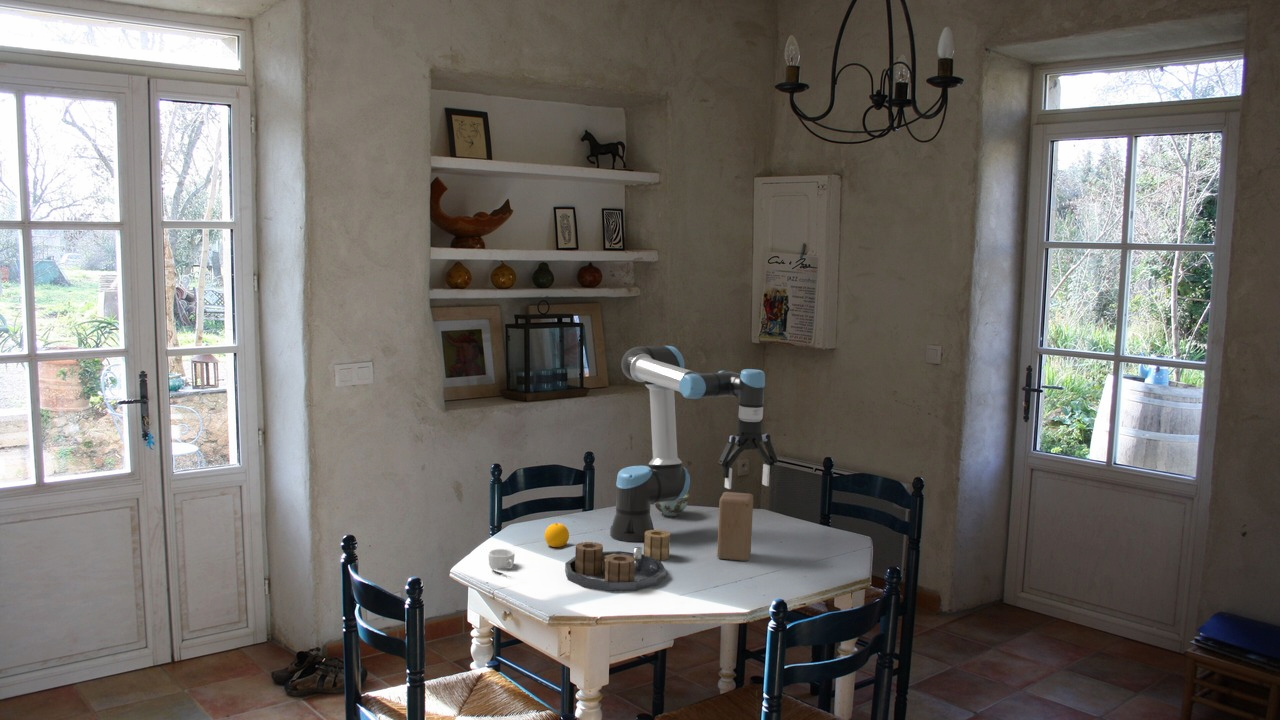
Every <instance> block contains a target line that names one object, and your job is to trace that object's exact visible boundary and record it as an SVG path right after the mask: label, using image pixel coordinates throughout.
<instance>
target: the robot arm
mask: <svg viewBox="0 0 1280 720" xmlns="http://www.w3.org/2000/svg"><path fill="white" fill-rule="evenodd" d="M620 364H621V365H620V366H621V371H622V372H623V374H624V375H625V377H627V378H628V379H629V380H632V381H635V382H638V383H644V386H645V387H646V388H647V389H648V390H649V405H650V424H651V425H650V426H651V428H650V430H651V447H652V450H651V451H652V458H651V460H650V461H649V462H648V465H632V466H627V467H624V468H621V469H620V470H619V471H618V473H617V476H616V477H617V478H616V482H615V485H616V495H615V496H616V497H615V498H616V502H615V503H616V504H615V515H614V518H613V520H612V524H611V526H610V528H609V531H610V532H609V535H610V537H611V538H613V539H615V540H618V541H622V542H623V541H624V542H634V543H635V542H636V543H637V542H644V536H645V532H646V531H649V530H655V528H654V525H653V523H654V522H653V519H652V516H651V504H654V503H659V502H665V501H674V500H678V499H681V498H683V497H684V496H685V494H686V493H689V492H688V491H689V489H690V485H691V479H690V478H691V477H690V473H689V471H688V469H687V468H686V467H685V466H683V462H682V460H681V459H680V458H679V457H678V442H677V421H676V418H677V417H676V402H675V397H676V396H675V391H676V392H679V393H680V394H681V395H682V396H683V398H685V399H691V400H692V399H693V400H697V399H704V398H721V397H733V398H738V399H739V403H738V418H739V419H738V420H737V433H738V434H737V435H731V434H729V435H728V439H727V443H726V445H725V447H724V449H723V451H722V453H721V455H720V457H719V459H718V461H717V464H718V465H719V466H721V467H723V468H722V469H723V470H722V476H723V478H724V488H725V489H728V490H731V489H732V480H733V479H732V477H733V468H732V467H731V466H732V465H733V463H735V461H736V460H737V458H738V457H739V456H740V455H741V453H743V452H744V451H745V450H746V451H748V450H756V451H757V453H758V454H759V456H760V457H761V459H762V460H763V461H764V462H765V463H763V464H762V479H761V484H762V485H764V486H765V487H770V486H769V485H770V476H771V475H772V471H773V470H772V468H773V466H775V464H777V463H778V462H779V459H778V457H777V454H776V452H775V450H774V447H773V444H772V441H771V435H770V434H769V433H763V421H762V419H763V417H764V403H765V402H764V401H765V388H766V374H765V372H764V371H763V370H761V369H754V368H753V369H752V368H746V369H742V370H741V371H740V373H738V372H733V371H732V370H719V371H717V372H713V373H712V372H711V373H710V372H709V373H700V372H696V371H693V370H690V369H686V368H685V361H684V357H683V355H682V353H681V352H680V351H679V349H677V348H676V347H675V346H672V345H671V346H670V345H652V346H650V345H649V346H635V347H632V348H631V349H629V350H627V351H626V352H625V353H624V355H623V356H622V358H621V363H620ZM762 433H763V434H762ZM761 441H762V442H763V444H764V446H765V447H764V448H765V449H766V451H765V450H764V448H763V446H762V444H761ZM736 443H737V444H736Z"/></svg>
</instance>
